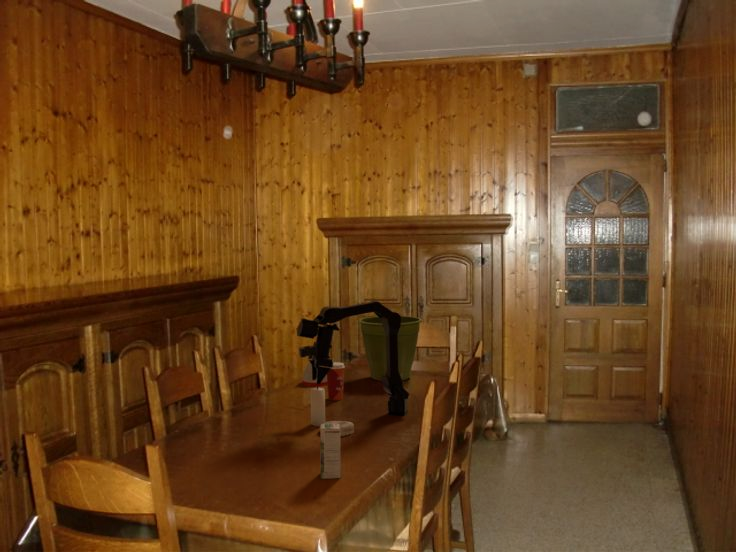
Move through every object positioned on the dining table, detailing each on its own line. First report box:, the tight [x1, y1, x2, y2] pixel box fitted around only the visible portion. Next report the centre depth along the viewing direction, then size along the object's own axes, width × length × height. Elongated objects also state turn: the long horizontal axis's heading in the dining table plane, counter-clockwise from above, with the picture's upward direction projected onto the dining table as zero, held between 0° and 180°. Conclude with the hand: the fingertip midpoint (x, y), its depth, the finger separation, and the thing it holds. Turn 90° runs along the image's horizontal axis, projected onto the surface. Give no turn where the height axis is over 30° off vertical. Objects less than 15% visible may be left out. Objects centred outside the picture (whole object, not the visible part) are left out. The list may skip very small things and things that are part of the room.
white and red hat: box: [301, 361, 328, 387], centre depth 321 cm, size 14×14×15 cm
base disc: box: [319, 420, 355, 437], centre depth 240 cm, size 12×12×2 cm
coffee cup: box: [326, 361, 346, 401], centre depth 289 cm, size 8×8×15 cm
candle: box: [310, 386, 326, 427], centre depth 250 cm, size 5×5×14 cm
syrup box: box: [319, 423, 342, 480], centre depth 196 cm, size 6×6×14 cm
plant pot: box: [358, 315, 422, 382], centre depth 329 cm, size 30×30×29 cm
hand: (315, 382), depth 252 cm, fingers open, 9 cm apart
